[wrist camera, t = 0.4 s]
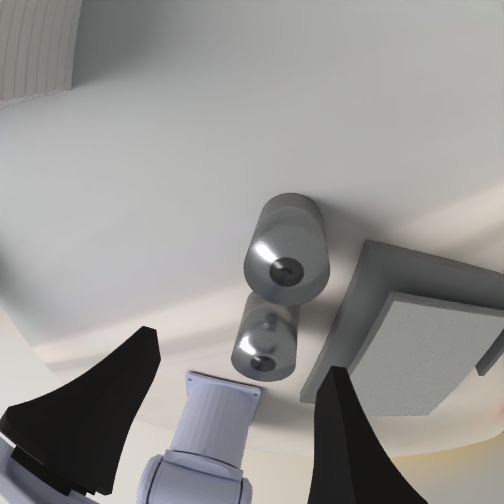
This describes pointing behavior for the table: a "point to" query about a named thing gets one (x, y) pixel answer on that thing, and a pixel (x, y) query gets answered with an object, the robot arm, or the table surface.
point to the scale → (409, 282)
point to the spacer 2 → (266, 340)
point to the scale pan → (420, 353)
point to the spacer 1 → (288, 251)
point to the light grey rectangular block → (36, 47)
